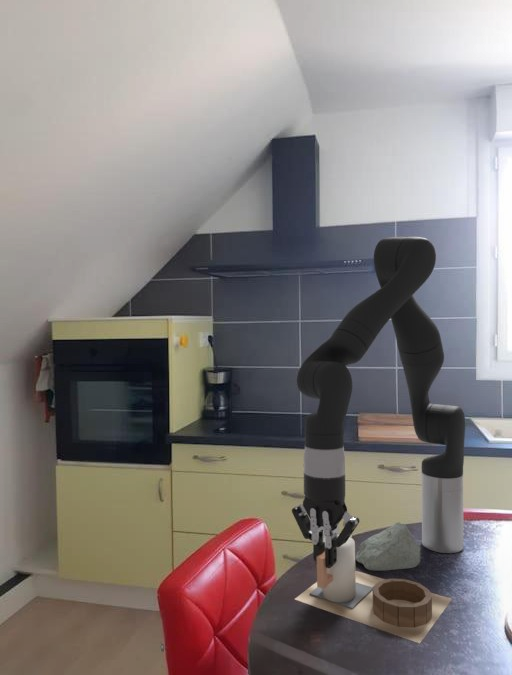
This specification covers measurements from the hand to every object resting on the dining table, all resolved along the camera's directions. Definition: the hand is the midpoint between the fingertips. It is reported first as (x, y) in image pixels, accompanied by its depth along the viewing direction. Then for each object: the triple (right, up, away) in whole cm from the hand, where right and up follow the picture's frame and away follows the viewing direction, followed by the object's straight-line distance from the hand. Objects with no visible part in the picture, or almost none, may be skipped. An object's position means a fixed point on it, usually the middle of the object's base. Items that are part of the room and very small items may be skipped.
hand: (324, 564), depth 99 cm
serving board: (+9, -9, +3) cm, 13 cm away
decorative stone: (+16, -9, +18) cm, 25 cm away
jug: (+2, -7, +3) cm, 8 cm away
